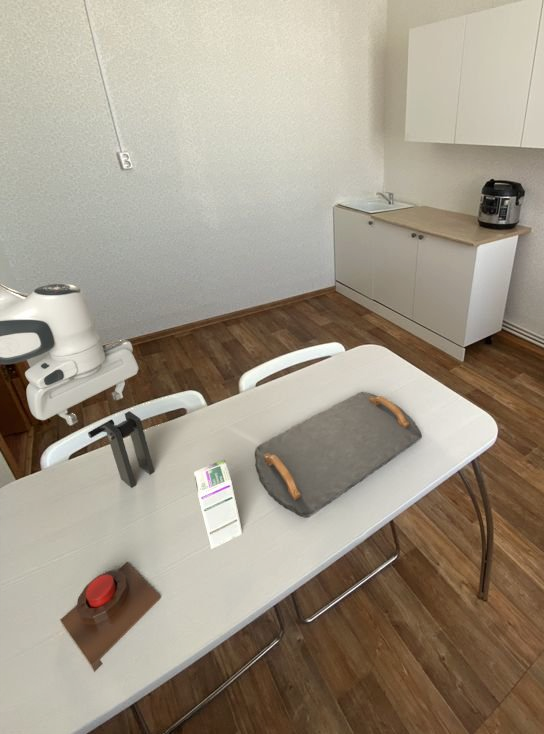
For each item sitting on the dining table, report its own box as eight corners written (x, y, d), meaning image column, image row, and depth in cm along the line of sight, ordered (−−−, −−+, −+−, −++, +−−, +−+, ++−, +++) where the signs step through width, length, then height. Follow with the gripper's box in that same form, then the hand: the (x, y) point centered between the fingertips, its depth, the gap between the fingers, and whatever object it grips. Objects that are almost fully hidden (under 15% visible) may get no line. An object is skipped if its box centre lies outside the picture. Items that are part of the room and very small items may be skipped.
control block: (62, 625, 59) (55, 611, 57) (128, 567, 67) (123, 553, 65) (94, 672, 53) (87, 657, 52) (162, 603, 61) (157, 589, 60)
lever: (90, 439, 86) (86, 430, 86) (113, 426, 90) (109, 417, 90) (116, 441, 76) (111, 431, 76) (141, 426, 80) (136, 416, 80)
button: (84, 598, 59) (81, 590, 59) (108, 577, 62) (106, 569, 62) (95, 612, 58) (92, 605, 57) (120, 590, 60) (117, 582, 60)
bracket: (108, 482, 83) (89, 424, 78) (144, 458, 89) (129, 402, 84) (132, 504, 78) (114, 443, 73) (169, 476, 84) (154, 419, 79)
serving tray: (293, 539, 71) (291, 514, 69) (242, 462, 88) (239, 441, 86) (432, 439, 94) (433, 418, 91) (370, 393, 110) (370, 375, 108)
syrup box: (244, 538, 71) (233, 479, 66) (210, 555, 68) (197, 495, 63) (236, 514, 76) (226, 457, 71) (205, 528, 73) (192, 470, 68)
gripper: (122, 333, 91) (135, 382, 95) (14, 376, 75) (37, 432, 79) (136, 339, 87) (149, 390, 92) (26, 386, 71) (49, 444, 76)
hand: (96, 410), depth 86 cm, fingers open, 8 cm apart
